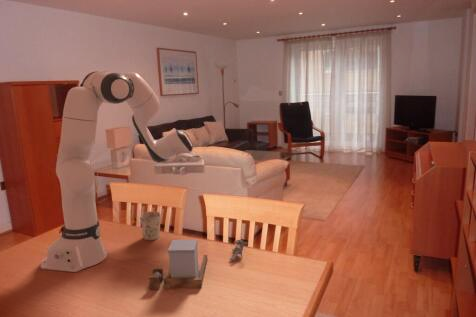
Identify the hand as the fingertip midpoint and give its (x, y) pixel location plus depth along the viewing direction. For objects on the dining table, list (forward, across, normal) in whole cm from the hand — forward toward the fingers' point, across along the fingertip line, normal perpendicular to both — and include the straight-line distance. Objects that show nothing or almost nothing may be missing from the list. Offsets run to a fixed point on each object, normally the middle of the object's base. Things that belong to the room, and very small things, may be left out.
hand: (176, 172), depth 137 cm
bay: (+22, +4, +30) cm, 38 cm away
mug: (-5, -14, +30) cm, 34 cm away
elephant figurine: (+11, +24, +30) cm, 40 cm away
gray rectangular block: (+26, +6, +30) cm, 40 cm away
